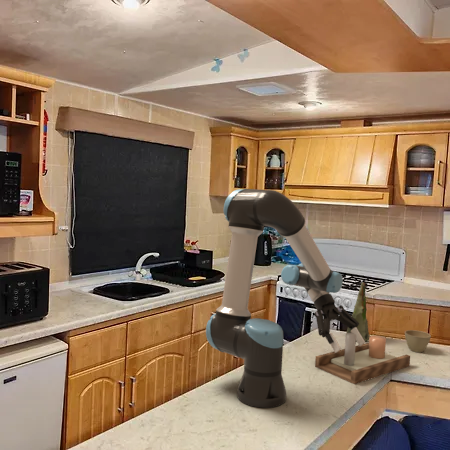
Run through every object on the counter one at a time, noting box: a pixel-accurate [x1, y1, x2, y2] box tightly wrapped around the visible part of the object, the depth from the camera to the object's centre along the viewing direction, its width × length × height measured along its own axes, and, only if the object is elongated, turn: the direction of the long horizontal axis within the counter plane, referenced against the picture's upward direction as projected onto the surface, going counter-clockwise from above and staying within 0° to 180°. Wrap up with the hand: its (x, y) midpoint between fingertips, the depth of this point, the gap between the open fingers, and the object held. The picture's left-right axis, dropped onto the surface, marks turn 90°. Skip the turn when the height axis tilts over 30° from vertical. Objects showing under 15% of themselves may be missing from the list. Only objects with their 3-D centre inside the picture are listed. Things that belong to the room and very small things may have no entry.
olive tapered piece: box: [345, 281, 370, 342], centre depth 209 cm, size 11×12×25 cm
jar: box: [368, 335, 387, 359], centre depth 181 cm, size 6×6×7 cm
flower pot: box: [404, 329, 431, 353], centre depth 197 cm, size 10×10×7 cm
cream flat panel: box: [331, 333, 398, 371], centre depth 178 cm, size 24×14×12 cm, turn 126°
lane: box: [314, 342, 411, 385], centre depth 177 cm, size 32×18×4 cm, turn 126°
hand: (350, 347), depth 172 cm, fingers open, 13 cm apart
